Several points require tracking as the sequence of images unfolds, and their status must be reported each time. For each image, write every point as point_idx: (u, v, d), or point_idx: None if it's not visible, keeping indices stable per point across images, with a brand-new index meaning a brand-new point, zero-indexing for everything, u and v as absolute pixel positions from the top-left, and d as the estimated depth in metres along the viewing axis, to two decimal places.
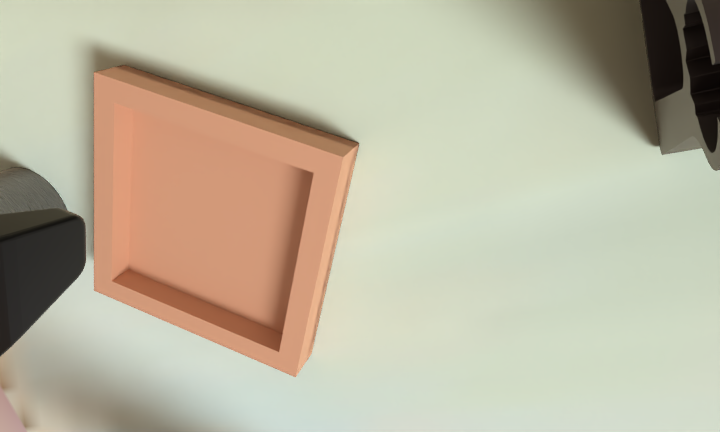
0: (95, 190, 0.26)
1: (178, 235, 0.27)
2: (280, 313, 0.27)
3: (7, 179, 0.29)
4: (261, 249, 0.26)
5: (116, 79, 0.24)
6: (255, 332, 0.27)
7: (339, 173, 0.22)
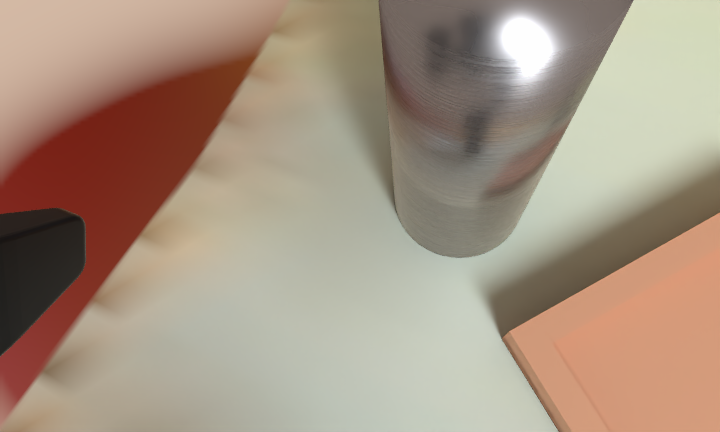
0: (651, 253, 0.20)
1: (667, 374, 0.20)
2: None
3: None
4: None
5: None
6: None
7: None
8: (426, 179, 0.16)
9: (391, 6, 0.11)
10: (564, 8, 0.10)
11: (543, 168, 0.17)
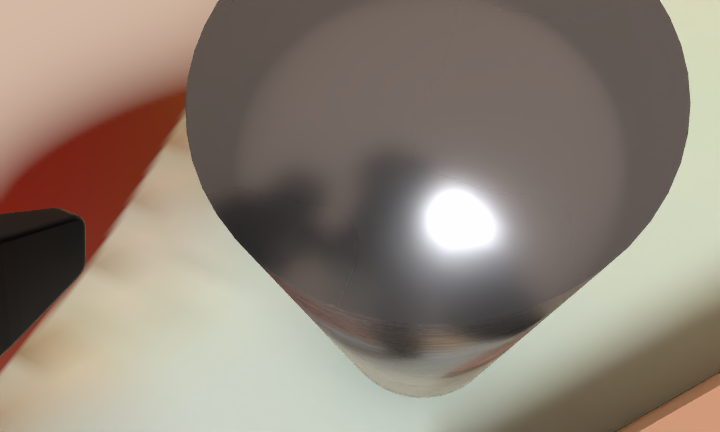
0: (670, 417, 0.15)
1: None
2: None
3: None
4: None
5: None
6: None
7: None
8: (347, 353, 0.11)
9: (206, 191, 0.06)
10: (525, 216, 0.05)
11: None
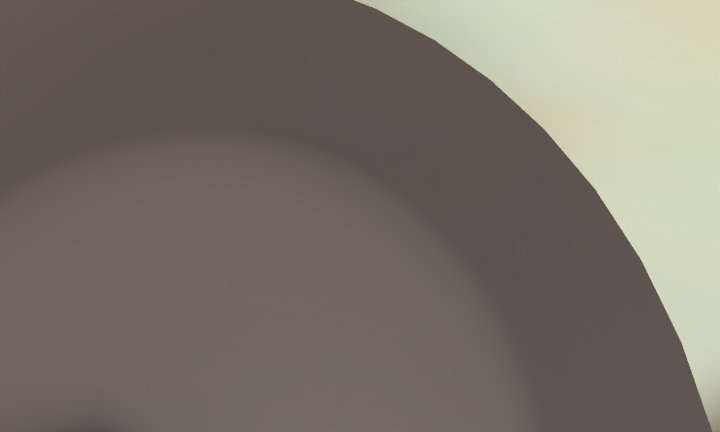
0: None
1: None
2: None
3: None
4: None
5: None
6: None
7: None
8: None
9: None
10: None
11: None
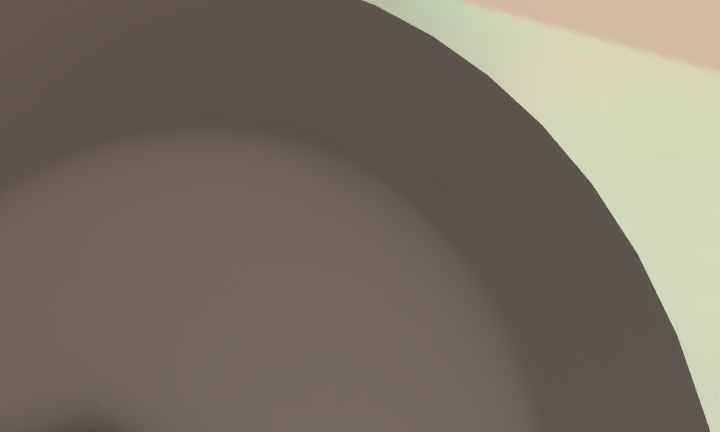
0: None
1: None
2: None
3: None
4: None
5: None
6: None
7: None
8: None
9: None
10: None
11: None
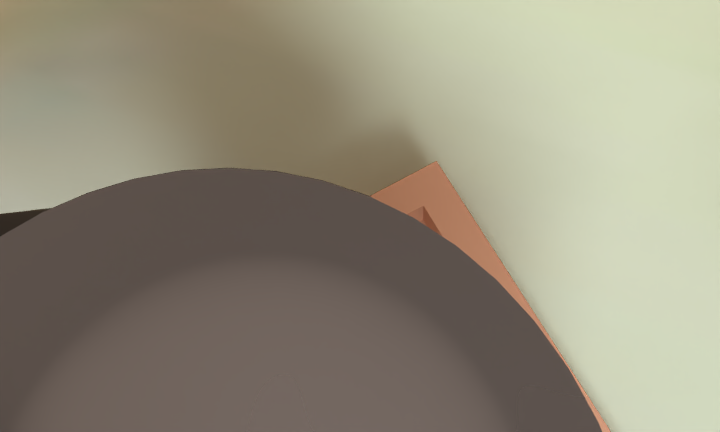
0: None
1: None
2: None
3: None
4: None
5: (454, 190, 0.17)
6: None
7: None
8: None
9: None
10: None
11: None
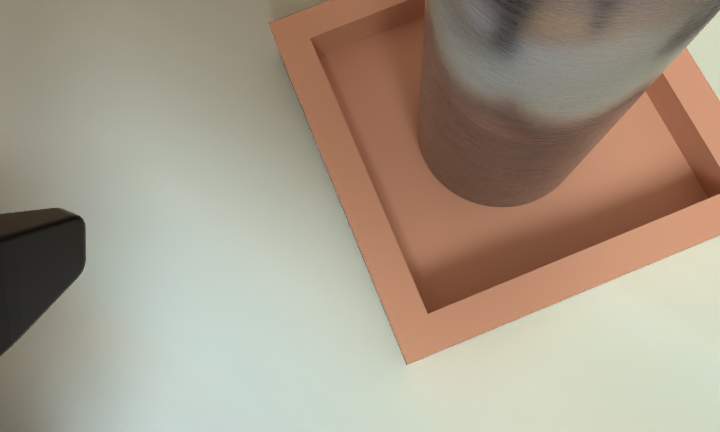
0: None
1: None
2: (450, 281, 0.17)
3: None
4: None
5: None
6: None
7: None
8: (469, 90, 0.11)
9: None
10: None
11: (641, 94, 0.11)
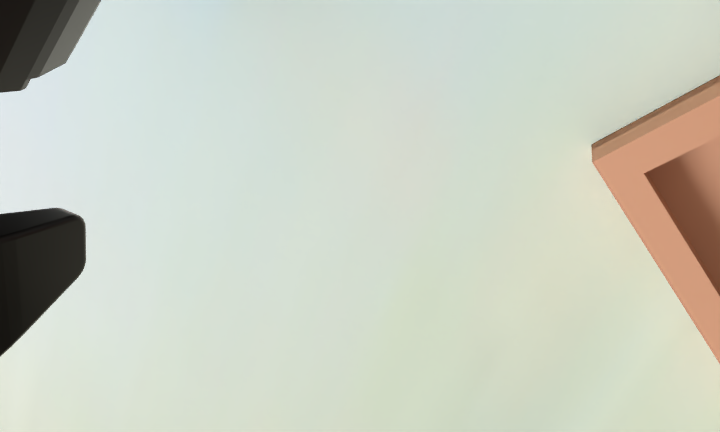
0: None
1: None
2: (680, 178, 0.18)
3: None
4: None
5: None
6: None
7: None
8: None
9: None
10: None
11: None
